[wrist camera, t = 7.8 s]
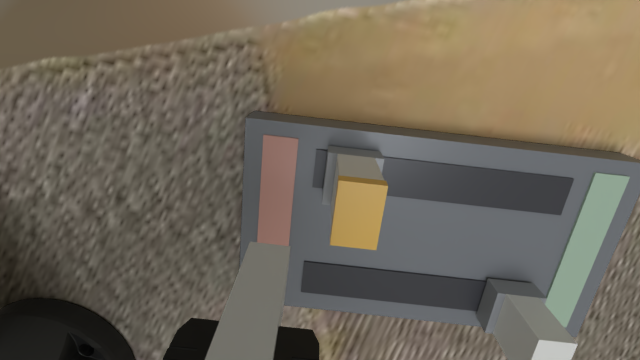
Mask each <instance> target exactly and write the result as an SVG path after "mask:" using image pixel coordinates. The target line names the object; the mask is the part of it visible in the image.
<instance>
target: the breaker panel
mask: <svg viewBox="0 0 640 360" xmlns="http://www.w3.org/2000/svg"><path fill="white" fill-rule="evenodd" d="M328 146H336V147H345V148H354V149H363V150H371V151H380V152H381V153H382V155H383V157H384V164H383V170H382V176H383V178H384V180H385V181H386V182H387V184H388V190H387V195H386V201H385V206H384V211H383V217H382V222H381V228H380V233H379V238H378V244H377V249H376V250H369V249H360V248H351V247H342V246H333V245H330V233H331V205H324V204H322V194H323V186H324V177H325V169H326V161H327V153H328ZM639 194H640V160H639V159H636V158H633V157H630V156H627V155H624V154H622V153H617V152H608V151H600V150H591V149H582V148H574V147H565V146H556V145H548V144H539V143H530V142H522V141H513V140H504V139H496V138H487V137H478V136H470V135H461V134H452V133H443V132H435V131H426V130H417V129H409V128H400V127H391V126H383V125H374V124H365V123H357V122H348V121H339V120H331V119H322V118H313V117H305V116H296V115H287V114H278V113H270V112H261V111H253V112H252V113H251V114H250V115H248V116H247V117H246V121H245V145H244V170H243V194H242V218H241V243H240V266H241V264H242V261H243V259H244V256H245V253H246V251H247V248H248V245H249V243H250V242H257V243H266V244H275V245H283V246H291V248H290V257H289V265H288V274H287V282H286V291H285V300H284V305H287V306H296V307H305V308H314V309H324V310H333V311H342V312H351V313H360V314H369V315H379V316H388V317H397V318H406V319H415V320H424V321H434V322H443V323H452V324H461V325H470V326H479V327H482V328H483V330H484V332H485V333H492V334H493V335H494V337H495V338H496V340H497V342H498V344H499V345H500V347H501V349H502V351H503V352H504V354H505V356H506V358H507V359H508V360H571V359H572V356H573V354H574V352H575V350H576V347H577V345H578V343H577V342H576V341H575V340H574V339H573V338H572V337H577V334H578V332H579V330H580V328H581V325H582V323H583V321H584V318H585V316H586V314H587V312H588V309H589V307H590V305H591V303H592V300H593V298H594V296H595V294H596V291H597V289H598V287H599V284H600V282H601V280H602V278H603V275H604V273H605V271H606V269H607V266H608V264H609V262H610V259H611V257H612V255H613V253H614V250H615V248H616V246H617V244H618V241H619V239H620V237H621V235H622V232H623V230H624V228H625V225H626V223H627V221H628V219H629V216H630V214H631V212H632V210H633V207H634V205H635V203H636V201H637V198H638V196H639ZM239 269H240V267H239Z"/></svg>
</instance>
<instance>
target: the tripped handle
mask: <svg viewBox="0 0 640 360" xmlns="http://www.w3.org/2000/svg"><path fill="white" fill-rule="evenodd" d="M383 164H384V157H383V155H382V153H381V152H380V151H371V150H363V149H354V148H345V147H336V146H328V153H327V161H326V169H325V177H324V186H323V194H322V204H324V205H331V233H330V245H333V246H342V247H351V248H360V249H369V250H376V249H377V244H378V238H379V233H380V228H381V222H382V217H383V211H384V206H385V201H386V195H387V190H388V184H387V182H386V181H385V180H384V178H383V176H382V170H383Z"/></svg>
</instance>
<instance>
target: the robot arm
mask: <svg viewBox="0 0 640 360" xmlns="http://www.w3.org/2000/svg"><path fill="white" fill-rule="evenodd" d="M290 248H291V246H283V245H275V244H266V243H257V242H250V243H249V245H248V248H247V251H246V253H245V256H244V259H243V261H242V264H241V266H240V269H239V272H238V274H237V277H236V279H235V282H234V285H233V287H232V290H231V293H230V295H229V298H228V300H227V303H226V306H225V308H224V311H223V313H222V316H221V319H220V321H215V320H206V319H196V318H191V319H190V320H189V321H188V322H186V323H185V324H184V325H183V326H182V327H181V328H179V329H178V330H177V332H176V334H175V336H174V338H173V340H172V342H171V344H170V347H169V348H168V350H167V351H166V353H165V355H164V357H163V360H319V342H318V340H317V338H316V336H315V334H314V332H313V330H309V329H300V328H291V327H281V321H282V315H283V308H284V300H285V291H286V282H287V274H288V265H289V257H290ZM0 360H134V357H133V354H132V352H131V350H130V348H129V346H128V345H127V343H126V342H125V340H124V339H123V338H122V336H121V335H120V334H119V333H118V332H117V331H116V330H115V329H114V328H113V327H112V326H111V325H110V324H108V323H107V322H106V321H105V320H103V319H102V318H100V317H99V316H97V315H95V314H94V313H92V312H90V311H88V310H86V309H84V308H82V307H79V306H77V305H74V304H71V303H67V302H64V301H59V300H53V299H39V298H37V299H26V300H21V301H17V302H14V303H11V304H9V305H7V306H5V307H3V308H1V309H0Z"/></svg>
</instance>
